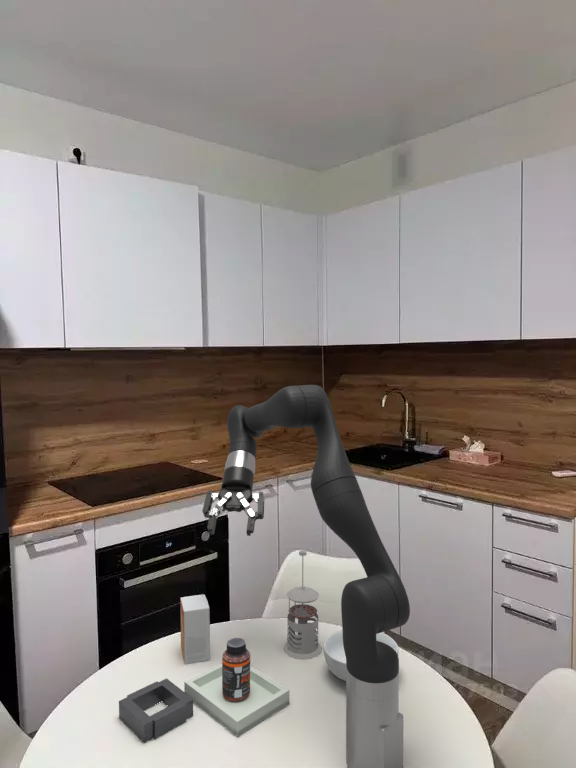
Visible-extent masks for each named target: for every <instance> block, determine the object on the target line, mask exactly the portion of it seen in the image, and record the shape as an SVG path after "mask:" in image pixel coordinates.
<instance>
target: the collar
mask: <svg viewBox="0 0 576 768" xmlns="http://www.w3.org/2000/svg"><path fill="white" fill-rule="evenodd" d="M161 701H163V702H161ZM159 702H160V703H163V704H164V705H165V706H167V705H168V706H167V707H165V708H163V709H160V710H159V711H157V712H156V713H153V714H151V715H150V716H149V714H147V713H146V710H148V709H150V708H152V707H154V706H156V705H158V704H160V703H159ZM157 703H158V704H157ZM155 704H156V705H155ZM144 710H145V711H144ZM193 717H194V702H193V699H192V698H191V697H190V696H189V695H187V694H186V693H185V692H184V690H182V689H181V688H180V687H178V686H177V685H176V684H174V683H173V682H172V681H171V680H169V679H168V678H164V679H162V680H160V681H154V682H153V683H151V684H148V685H147V686H144V687H142V688H140V689H138V690H136V691H134V692H131V693H129V694H127V695H126V697H124V698H123V699H120V700H118V718H119V719H120V721H121V722H122V723H123V724H124V725H126V727H127V728H128V729H129V730H130V731H131V732H132V733H134V735H135V736H137V738H138V739H139V740H140V741H141V742H142V743H143V744H145V743H147V742H149V741H151V740H153V739H154V740H157V739H158V738H160V737H162V736H164V735H166V734H168V733H169V732H171V731H173V730H175V729H176V728H178V727H180V726H182V725H183V724H185V723H187V720H188V719H190V718H193Z"/></svg>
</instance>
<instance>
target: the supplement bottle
mask: <svg viewBox="0 0 576 768" xmlns="http://www.w3.org/2000/svg"><path fill="white" fill-rule="evenodd" d="M246 644H247V643H246V640H245V639H244V638H241V637H233V638H230V639H229V640H227V642H226V649H225V650H224V651H223V653H222V657H221V659H222V662H221V663H222V694H223V697H224V698H225V699H227V700H229V701H235V702H237V701H242V700H244V699H246V698H247V697H248V696H249V694H250V666H251V653H250V651H249V650H248V649H247V645H246Z"/></svg>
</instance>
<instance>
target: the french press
mask: <svg viewBox="0 0 576 768" xmlns="http://www.w3.org/2000/svg"><path fill="white" fill-rule="evenodd" d="M307 554H308V553H307V551H306V550H305V549H301V550H300V551H299V552H298V555H299V556H301V558H302V560H301V561H302V562H301V564H302V565H301V567H302V568H301V569H302V570H301V572H302V574H301V576H302V578H301V579H302V580H301V582H302V585H301V586H295V587H294V588H292V589H290V590H289V591H287V592H286V597H287V599H288V614H287V621H286V622H287V625H286V627H287V631H286V632H287V635H286V636H287V642H286V643H285V644H284V645H283V648H282V649H283V652H284V654H286V655H287V656H288V657H290V658H294V659H295V660H309V659H313V658H316V657H318V656H319V655H321V654H322V652H323V647H322V645H321V643H320V642H319V615H318V613H317V612H318V610H317V608H316V607H315V606H313V605H312V604H311V605H310V603H313V602H316V601H317V600H318V599H319V597H320V593H319V592H318V591H317V590H315V589H313V588H312V587H309V586H308V587H307V586H305V585H304V557H305V556H307ZM291 601H292V602H294V605H292V606H290V605H291V603H290V602H291ZM297 603H298V604H297ZM314 617H315V618H314ZM296 619H297V622H296ZM310 621H312V622H310ZM296 633H297V634H296Z"/></svg>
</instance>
